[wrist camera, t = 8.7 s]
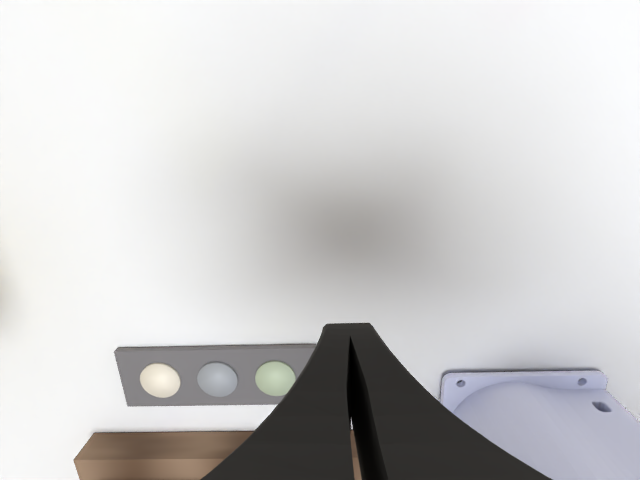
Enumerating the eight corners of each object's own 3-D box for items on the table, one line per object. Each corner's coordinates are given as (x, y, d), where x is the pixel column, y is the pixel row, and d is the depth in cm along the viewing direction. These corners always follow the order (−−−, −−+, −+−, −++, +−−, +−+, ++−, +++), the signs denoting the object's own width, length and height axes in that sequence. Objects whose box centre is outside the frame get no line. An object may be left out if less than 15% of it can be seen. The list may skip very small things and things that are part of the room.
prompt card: (316, 344, 21) (315, 350, 21) (318, 399, 22) (318, 406, 22) (117, 347, 22) (112, 353, 21) (130, 401, 23) (126, 408, 22)
